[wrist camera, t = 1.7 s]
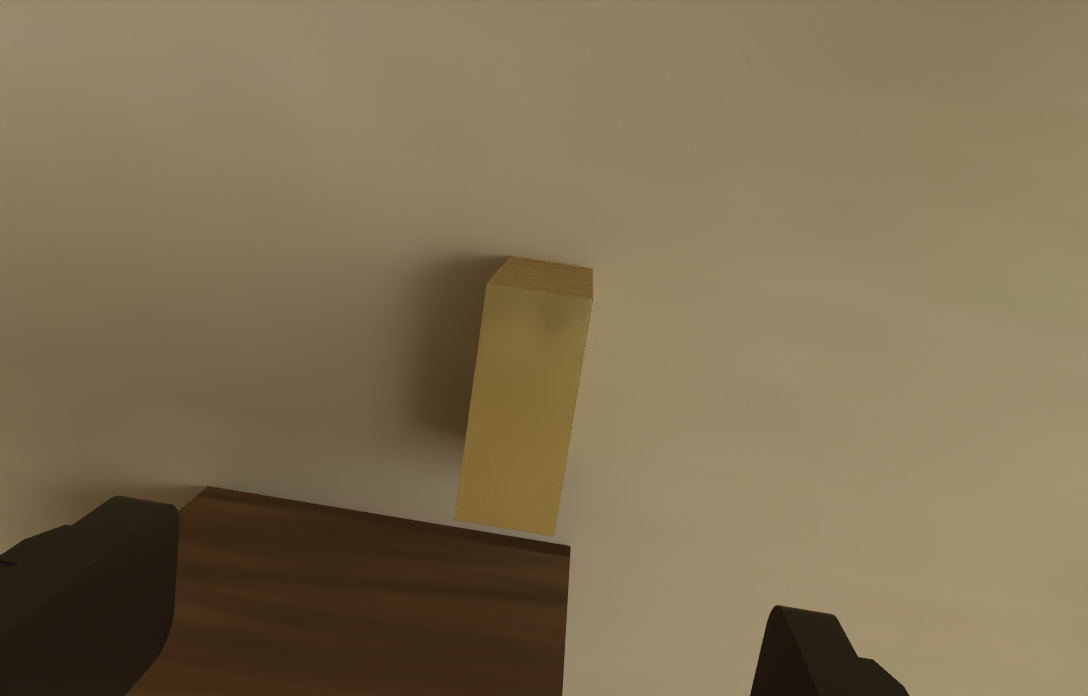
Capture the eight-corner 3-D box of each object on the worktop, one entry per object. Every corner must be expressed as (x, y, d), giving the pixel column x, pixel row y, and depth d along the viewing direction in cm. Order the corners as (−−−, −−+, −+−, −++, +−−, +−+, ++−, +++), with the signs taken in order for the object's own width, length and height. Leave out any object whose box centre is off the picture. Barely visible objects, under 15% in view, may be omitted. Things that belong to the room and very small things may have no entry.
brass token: (511, 256, 26) (486, 282, 20) (592, 268, 26) (592, 299, 20) (484, 442, 27) (454, 519, 21) (561, 454, 27) (553, 536, 21)
